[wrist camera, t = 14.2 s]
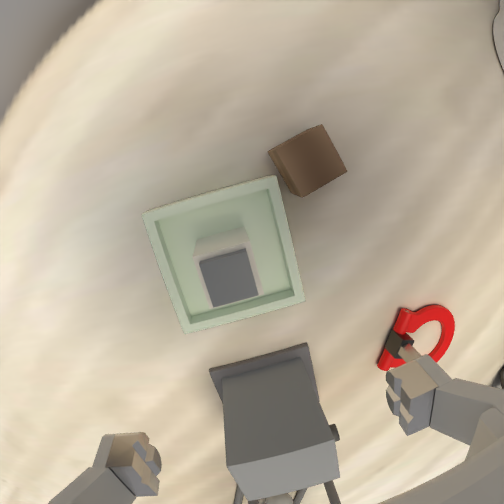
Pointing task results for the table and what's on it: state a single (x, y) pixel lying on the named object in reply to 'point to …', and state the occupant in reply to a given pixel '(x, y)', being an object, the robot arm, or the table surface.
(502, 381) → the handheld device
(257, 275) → the block
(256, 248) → the tray
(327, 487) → the newton's cradle
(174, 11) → the table surface
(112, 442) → the robot arm
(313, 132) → the walnut block
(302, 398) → the control box
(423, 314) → the tow hook
